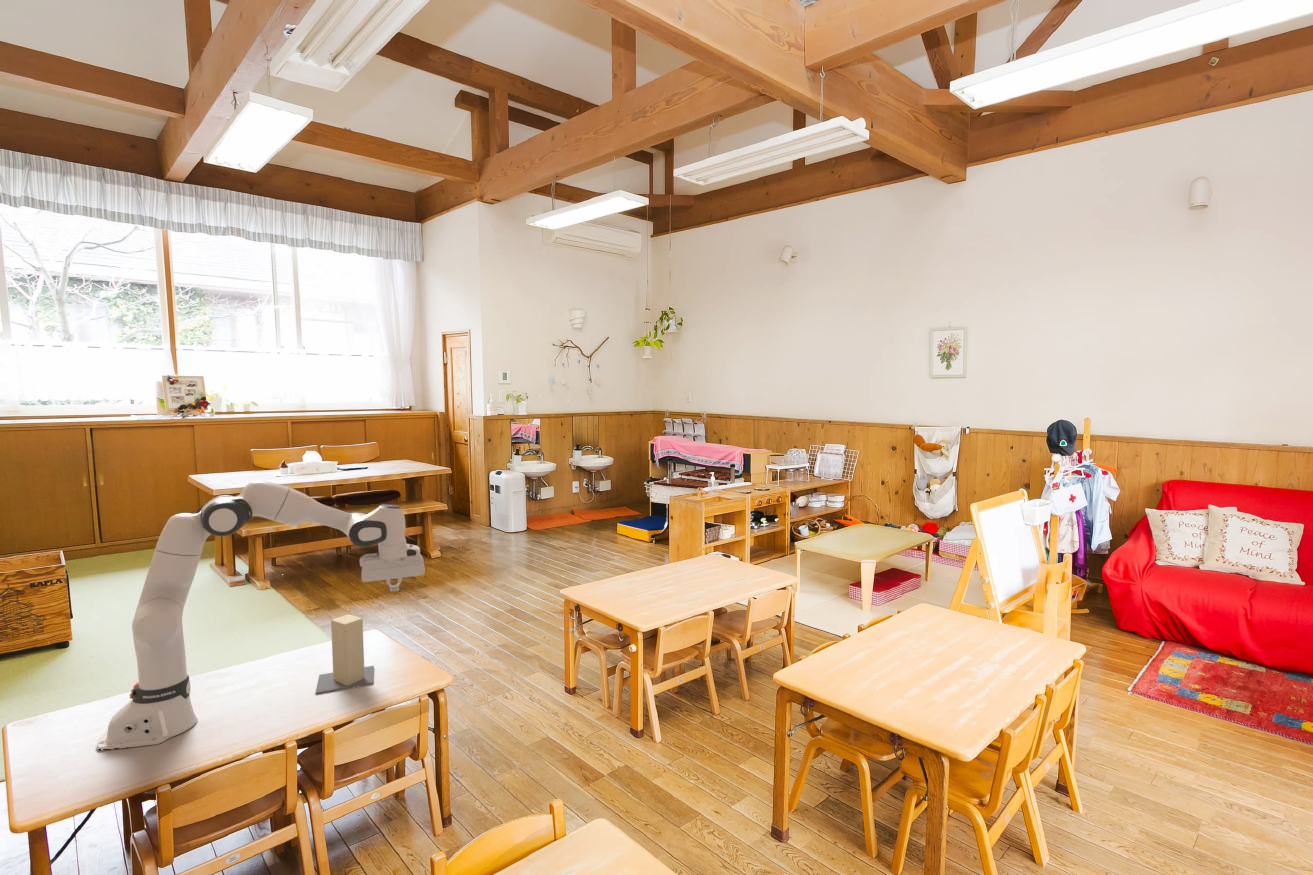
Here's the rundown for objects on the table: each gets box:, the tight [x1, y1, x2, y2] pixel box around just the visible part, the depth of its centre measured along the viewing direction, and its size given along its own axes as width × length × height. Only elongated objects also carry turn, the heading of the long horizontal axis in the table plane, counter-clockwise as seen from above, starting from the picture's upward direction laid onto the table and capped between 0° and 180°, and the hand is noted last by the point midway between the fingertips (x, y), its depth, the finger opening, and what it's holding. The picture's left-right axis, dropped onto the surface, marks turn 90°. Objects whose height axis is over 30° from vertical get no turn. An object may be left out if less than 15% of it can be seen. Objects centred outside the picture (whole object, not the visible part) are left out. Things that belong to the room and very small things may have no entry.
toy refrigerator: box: [330, 613, 365, 686], centre depth 213 cm, size 8×7×21 cm
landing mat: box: [314, 665, 375, 695], centre depth 215 cm, size 17×14×1 cm
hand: (394, 590), depth 218 cm, fingers closed
